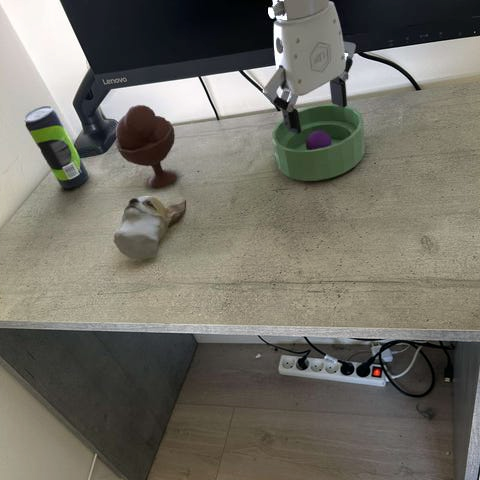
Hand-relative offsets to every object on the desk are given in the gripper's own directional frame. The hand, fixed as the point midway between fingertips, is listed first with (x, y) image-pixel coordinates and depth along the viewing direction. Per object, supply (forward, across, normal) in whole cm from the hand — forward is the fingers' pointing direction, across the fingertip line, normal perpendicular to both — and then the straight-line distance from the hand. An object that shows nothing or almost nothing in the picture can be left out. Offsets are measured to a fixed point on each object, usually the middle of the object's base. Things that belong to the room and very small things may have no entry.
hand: (317, 118), depth 81 cm
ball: (+5, 0, 0) cm, 5 cm away
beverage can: (+7, -36, +38) cm, 53 cm away
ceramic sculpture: (+8, -33, +5) cm, 34 cm away
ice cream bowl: (+7, -23, +20) cm, 32 cm away
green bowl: (+8, 0, 0) cm, 8 cm away
